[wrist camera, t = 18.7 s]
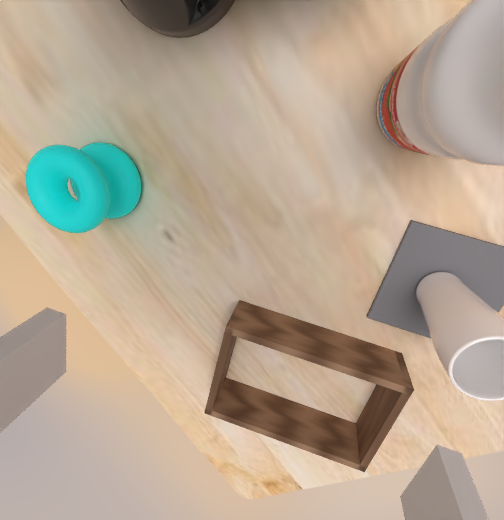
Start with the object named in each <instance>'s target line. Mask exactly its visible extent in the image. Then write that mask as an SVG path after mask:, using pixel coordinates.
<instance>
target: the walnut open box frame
mask: <svg viewBox="0 0 504 520" xmlns="http://www.w3.org/2000/svg"><path fill="white" fill-rule="evenodd" d="M237 337H239V338H242V339H245V340H248V341H251V342H254V343H257V344H260V345H263V346H266V347H269V348H272V349H275V350H278V351H280V352H283V353H286V354H289V355H292V356H295V357H298V358H301V359H304V360H307V361H310V362H313V363H316V364H319V365H322V366H325V367H328V368H331V369H333V370H336V371H339V372H342V373H345V374H348V375H351V376H354V377H357V378H360V379H363V380H366V381H369V382H372V383H375V384H377V385H376V387H375V389H374V391H373V393H372V395H371V397H370V399H369V400H368V402H367V404H366V406H365V408H364V410H363V412H362V414H361V415H360V417H359V419H358V421H357V423H356V424H355V423H352V422H349V421H346V420H344V419H341V418H338V417H335V416H332V415H330V414H327V413H324V412H321V411H318V410H315V409H313V408H310V407H307V406H304V405H301V404H299V403H296V402H293V401H290V400H287V399H284V398H282V397H279V396H276V395H273V394H270V393H267V392H265V391H262V390H259V389H256V388H253V387H251V386H248V385H245V384H242V383H239V382H236V381H234V380H231V379H228V378H226V374H227V371H228V367H229V363H230V360H231V356H232V352H233V349H234V345H235V341H236V338H237ZM413 391H414V388H413V385H412V382H411V379H410V376H409V373H408V370H407V367H406V364H405V361H404V358H403V355H402V353H399V352H396V351H393V350H390V349H387V348H384V347H381V346H378V345H374V344H371V343H368V342H365V341H362V340H359V339H356V338H353V337H350V336H347V335H344V334H341V333H338V332H335V331H332V330H329V329H326V328H323V327H319V326H316V325H313V324H310V323H307V322H304V321H301V320H298V319H295V318H292V317H289V316H286V315H283V314H280V313H277V312H274V311H271V310H268V309H265V308H261V307H258V306H255V305H252V304H249V303H246V302H243V301H239V302H238V304H237V306H236V308H235V310H234V312H233V314H232V316H231V318H230V320H229V322H228V324H227V326H226V329H225V333H224V337H223V341H222V345H221V349H220V353H219V357H218V361H217V365H216V369H215V373H214V377H213V381H212V385H211V389H210V393H209V397H208V401H207V405H206V409H205V413H206V414H208V415H211V416H214V417H216V418H219V419H222V420H225V421H227V422H230V423H233V424H235V425H238V426H241V427H244V428H246V429H249V430H252V431H254V432H257V433H260V434H263V435H265V436H268V437H271V438H273V439H276V440H279V441H281V442H284V443H287V444H290V445H292V446H295V447H298V448H300V449H303V450H306V451H309V452H311V453H314V454H317V455H319V456H322V457H325V458H328V459H330V460H333V461H336V462H338V463H341V464H344V465H347V466H349V467H352V468H355V469H357V470H360V471H363V472H365V470H366V469H367V467H368V465H369V464H370V462H371V460H372V459H373V457H374V455H375V454H376V452H377V450H378V449H379V447H380V445H381V444H382V442H383V440H384V439H385V437H386V435H387V434H388V432H389V430H390V429H391V427H392V425H393V424H394V422H395V420H396V419H397V417H398V415H399V414H400V412H401V410H402V409H403V407H404V405H405V404H406V402H407V401H408V399H409V397H410V396H411V394H412V392H413Z"/></svg>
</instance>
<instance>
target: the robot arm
mask: <svg viewBox="0 0 504 520" xmlns="http://www.w3.org/2000/svg"><path fill="white" fill-rule="evenodd" d="M120 1H121V2H122V3H123V5H124V6H125V7H126V8H127V9H128V11H129V12H130V13H131V14H132V15H133V16H134V17H136V18H137V19H138V20H139V21H141V22H142V23H144V24H145V25H147V26H149V27H150V28H152V29H154V30H156V31H158V32H160V33H162V34H165V35H168V36H173V37H188V36H193V35H196V34H199V33H201V32H203V31H205V30H207V29H209V28H210V27H212V26H213V25H215V24H216V23H217V22H218V21H219V20H220V19H221V18H222V17H223V16H224V15H225V14H226V12H227V11H228V10H229V8H230V7H231V5H232V4H233V2H234V0H120ZM65 372H66V314H64V313H61V312H58V311H56V310H53V309H50V308H46V309H44V310H43V311H41V312H39V313H38V314H36V315H35V316H33V317H32V318H30V319H28V320H27V321H25V322H24V323H22V324H21V325H19V326H17V327H16V328H14V329H12V330H11V331H9V332H8V333H6V334H5V335H3V336H1V337H0V432H2V431H3V430H4V429H5V428H6V427H7V426H8V425H9V424H10V423H11V422H12V421H13V420H14V419H15V418H17V417H18V416H19V415H20V414H21V413H22V412H23V411H24V410H25V409H26V408H27V407H28V406H30V405H31V404H32V403H33V402H34V401H35V400H36V399H37V398H38V397H39V396H40V395H41V394H43V393H44V392H45V391H46V390H47V389H48V388H49V387H50V386H51V385H52V384H53V383H55V382H56V380H58V379H59V378H60V377H61V376H62V375H63V374H64V373H65ZM400 497H401V501H402V506H403V511H404V517H405V520H489V518H488V516H487V513H486V511H485V509H484V506H483V504H482V501H481V499H480V497H479V494H478V492H477V489H476V487H475V485H474V482H473V480H472V477H471V475H470V472H469V470H468V468H467V465H466V463H465V460H464V458H463V456H462V453H459V452H456V451H453V450H450V449H448V448H445V447H442V446H439V445H436V447H435V448H434V450H433V451H432V452H431V454H430V455H429V457H428V458H427V459H426V461H425V462H424V464H423V465H422V467H421V468H420V470H419V471H418V472H417V474H416V475H415V476H414V478H413V479H412V481H411V482H410V484H409V485H408V486H407V488H406V489H405V491H404V492H403V493H402V495H401V496H400Z"/></svg>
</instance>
